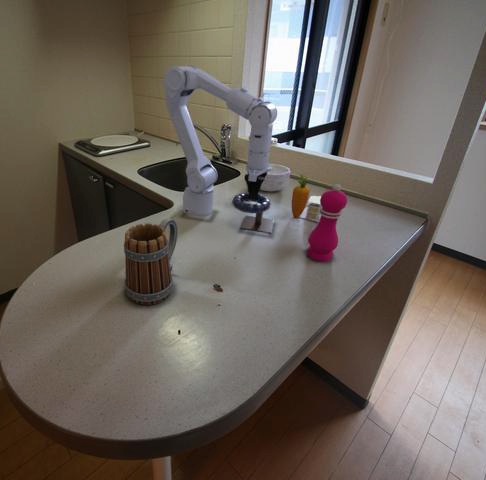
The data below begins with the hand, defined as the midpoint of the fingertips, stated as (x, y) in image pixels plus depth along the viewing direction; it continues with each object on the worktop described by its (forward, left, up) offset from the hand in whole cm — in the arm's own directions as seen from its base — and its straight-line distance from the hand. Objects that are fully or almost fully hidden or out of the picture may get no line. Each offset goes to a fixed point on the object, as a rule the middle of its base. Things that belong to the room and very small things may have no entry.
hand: (253, 197), depth 93 cm
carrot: (+13, +10, -10) cm, 20 cm away
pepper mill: (+20, -10, -10) cm, 25 cm away
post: (+2, 0, -10) cm, 10 cm away
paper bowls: (+1, +36, -10) cm, 37 cm away
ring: (0, -4, 0) cm, 4 cm away
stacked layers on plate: (+19, +16, -10) cm, 27 cm away
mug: (-16, -36, -10) cm, 40 cm away
